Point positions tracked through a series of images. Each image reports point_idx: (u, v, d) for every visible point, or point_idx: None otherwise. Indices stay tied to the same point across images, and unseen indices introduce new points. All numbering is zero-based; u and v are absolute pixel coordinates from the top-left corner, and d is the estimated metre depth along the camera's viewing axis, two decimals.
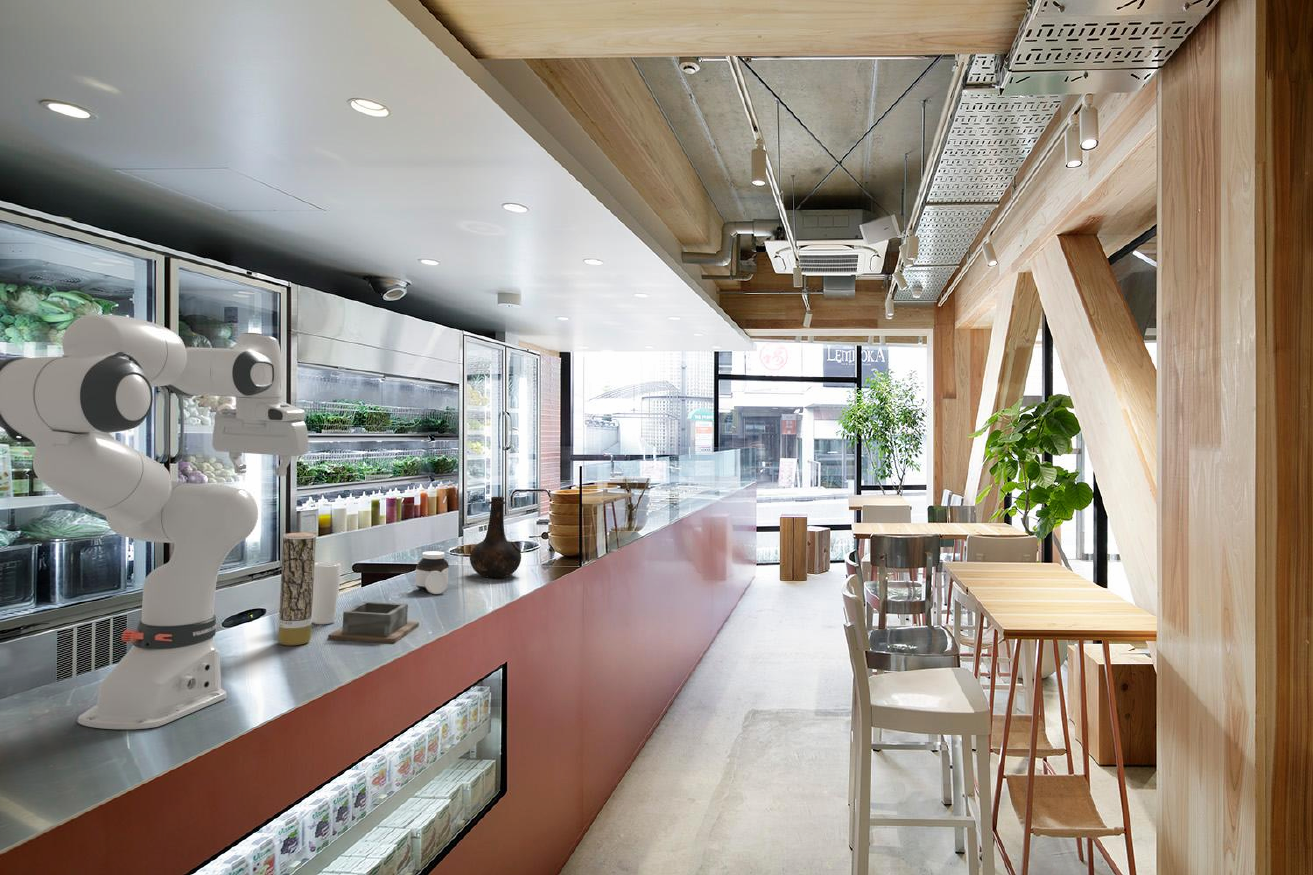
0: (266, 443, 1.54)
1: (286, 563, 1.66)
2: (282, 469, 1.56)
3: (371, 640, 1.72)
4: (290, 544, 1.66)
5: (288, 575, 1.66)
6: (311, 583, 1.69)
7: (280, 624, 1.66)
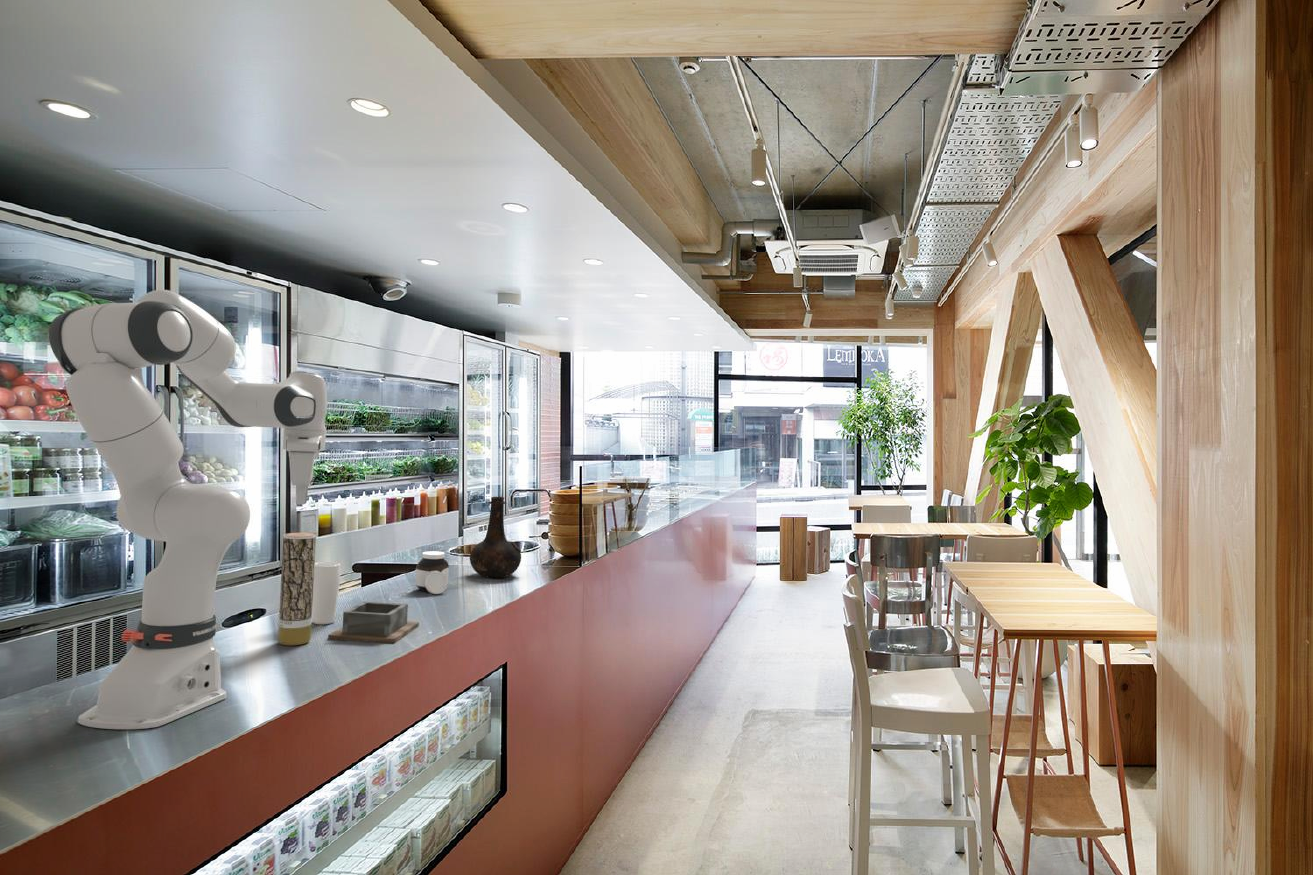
0: None
1: (286, 563, 1.66)
2: (298, 498, 1.64)
3: (371, 640, 1.72)
4: (290, 544, 1.66)
5: (288, 575, 1.66)
6: (311, 583, 1.69)
7: (280, 624, 1.66)
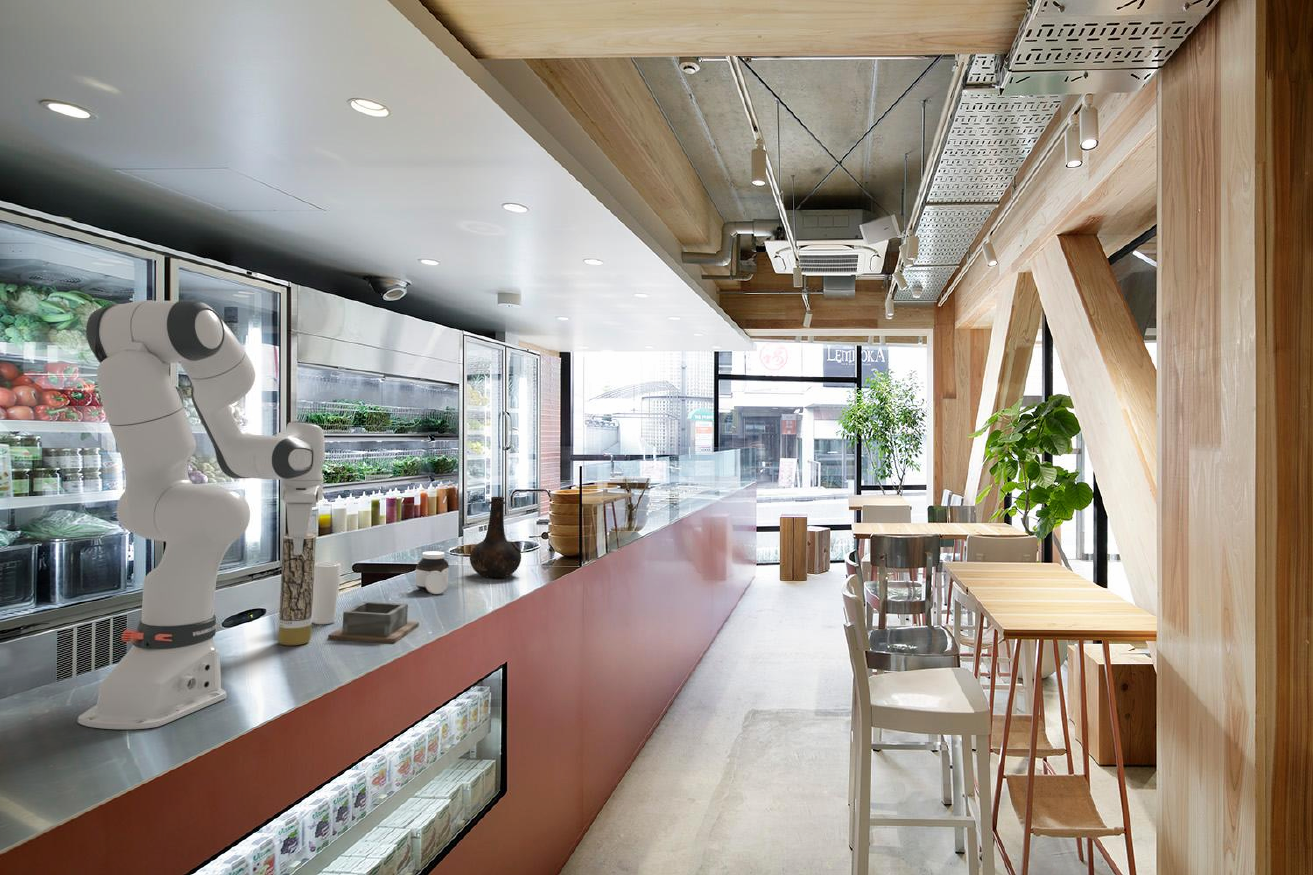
0: None
1: (286, 563, 1.66)
2: (295, 548, 1.64)
3: (371, 640, 1.72)
4: (290, 544, 1.66)
5: (288, 575, 1.66)
6: (311, 583, 1.69)
7: (280, 624, 1.66)
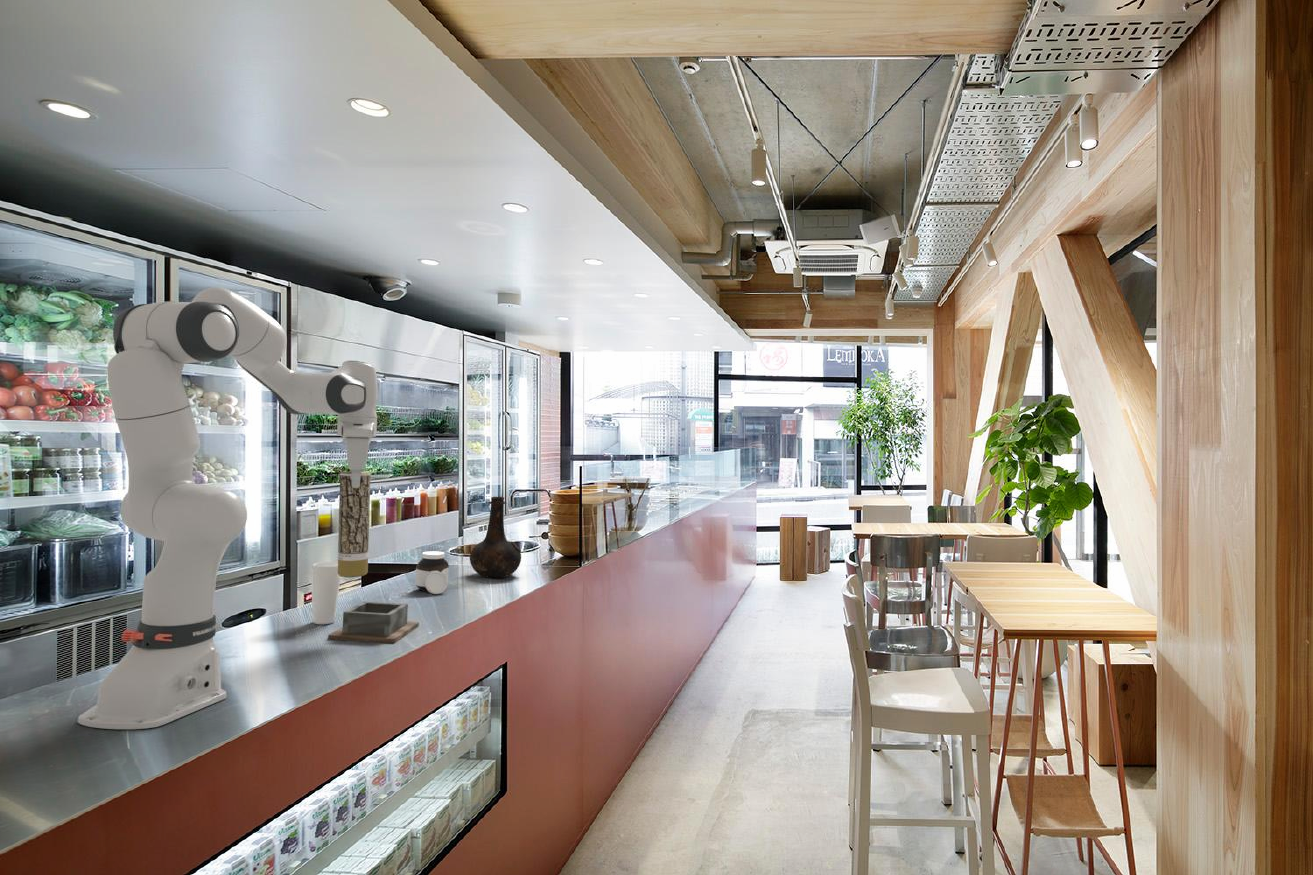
0: None
1: (343, 499, 1.74)
2: (353, 481, 1.72)
3: (371, 640, 1.72)
4: (348, 481, 1.73)
5: (346, 511, 1.73)
6: (367, 518, 1.77)
7: (340, 557, 1.74)
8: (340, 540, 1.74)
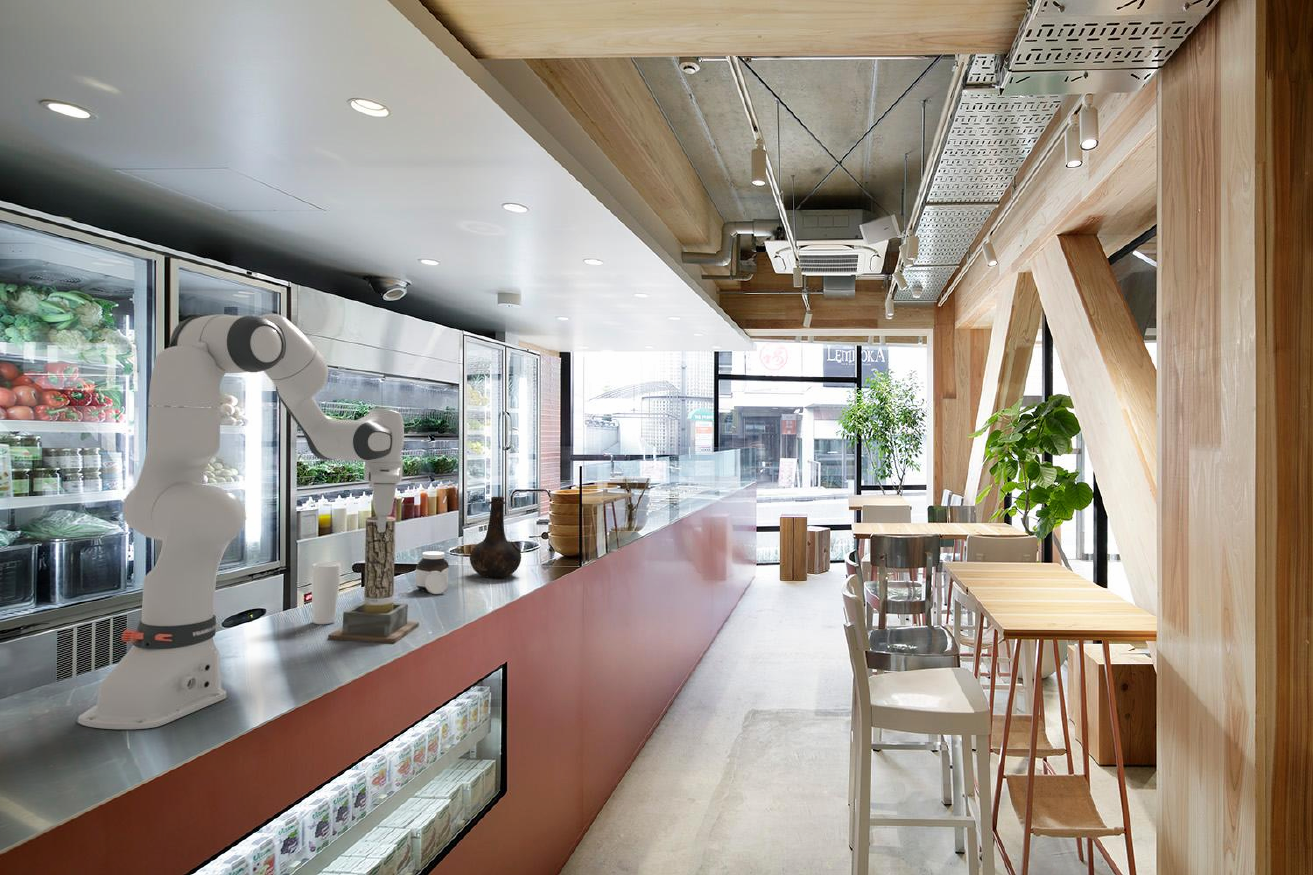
0: None
1: (370, 545, 1.77)
2: (379, 526, 1.76)
3: (371, 640, 1.72)
4: (373, 527, 1.77)
5: (372, 556, 1.77)
6: (393, 563, 1.80)
7: (366, 602, 1.78)
8: (366, 585, 1.78)
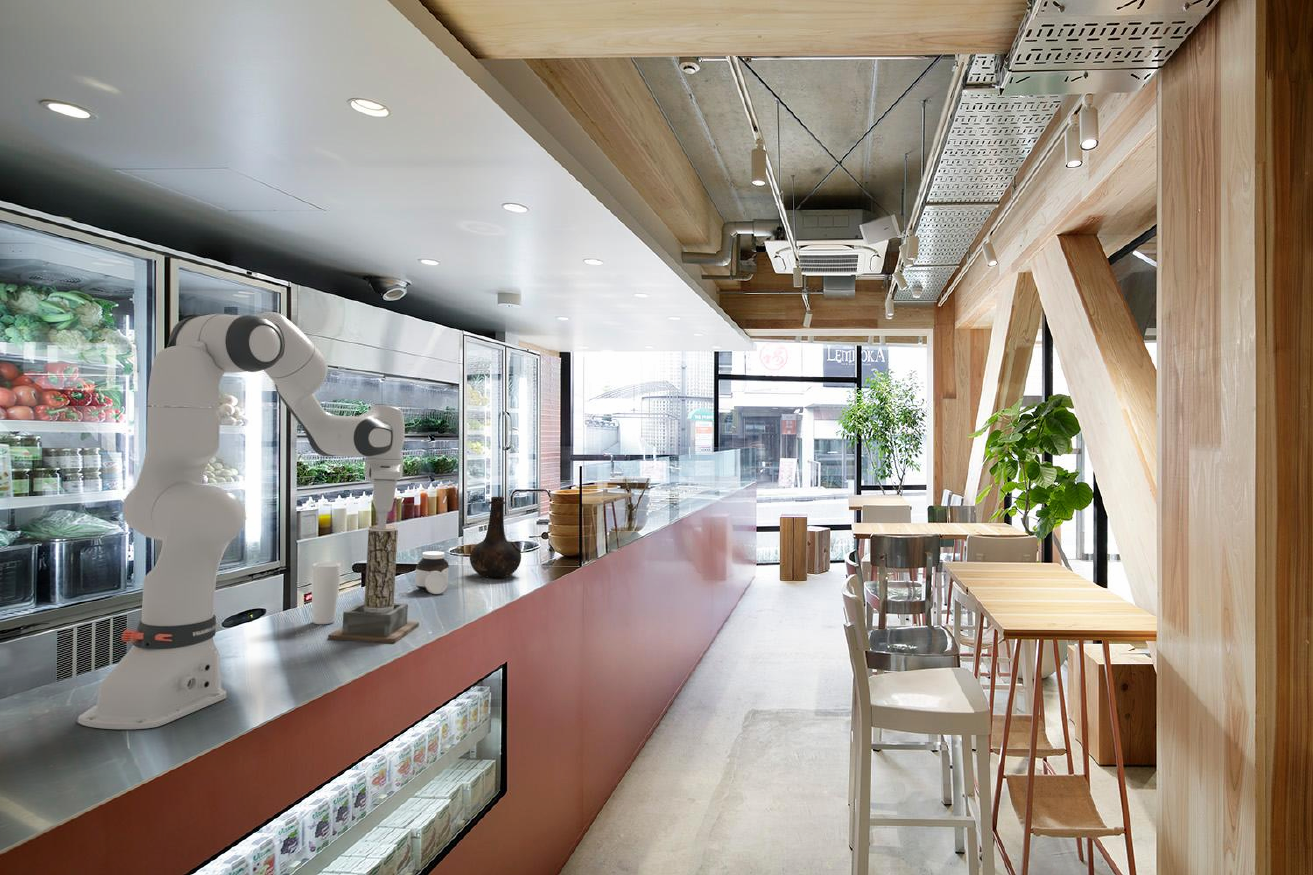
0: None
1: (371, 554, 1.77)
2: (379, 522, 1.75)
3: (371, 640, 1.72)
4: (376, 536, 1.77)
5: (374, 565, 1.77)
6: (394, 573, 1.80)
7: (366, 611, 1.78)
8: (367, 594, 1.78)
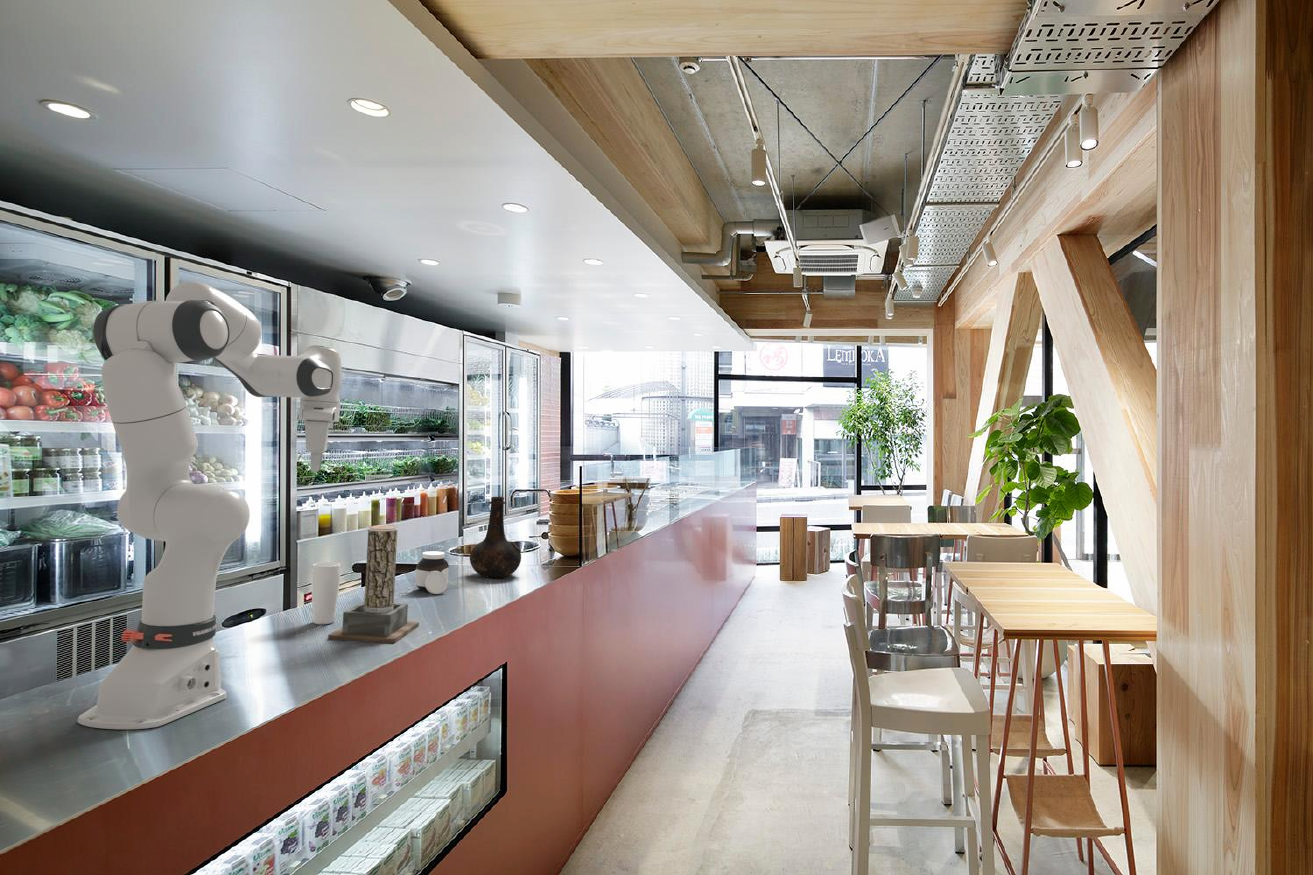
0: None
1: (371, 554, 1.77)
2: (312, 465, 1.72)
3: (371, 640, 1.72)
4: (376, 536, 1.77)
5: (374, 565, 1.77)
6: (394, 573, 1.80)
7: (366, 611, 1.78)
8: (367, 594, 1.78)
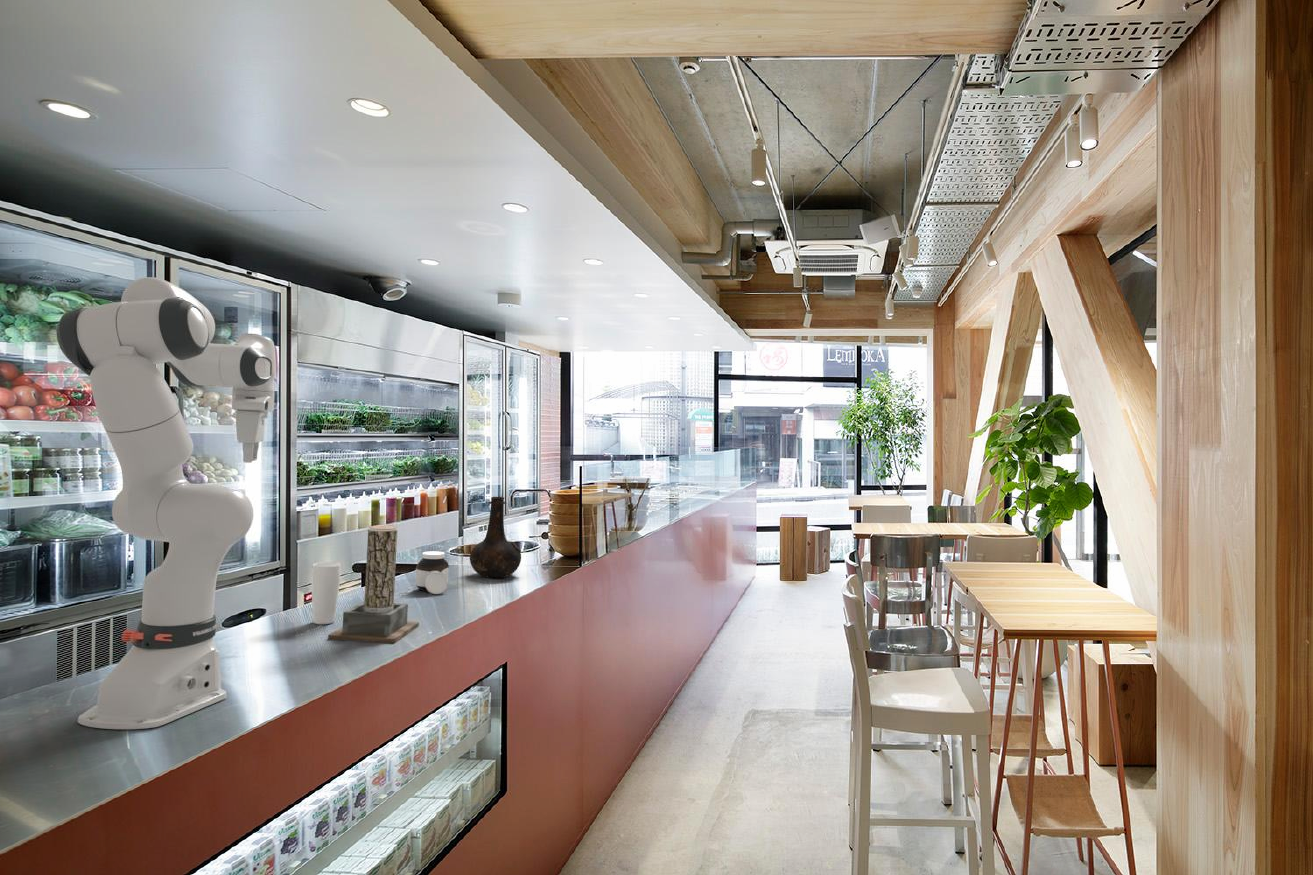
0: None
1: (371, 554, 1.77)
2: (245, 456, 1.68)
3: (371, 640, 1.72)
4: (376, 536, 1.77)
5: (373, 565, 1.77)
6: (394, 573, 1.80)
7: (366, 611, 1.78)
8: (367, 594, 1.78)
